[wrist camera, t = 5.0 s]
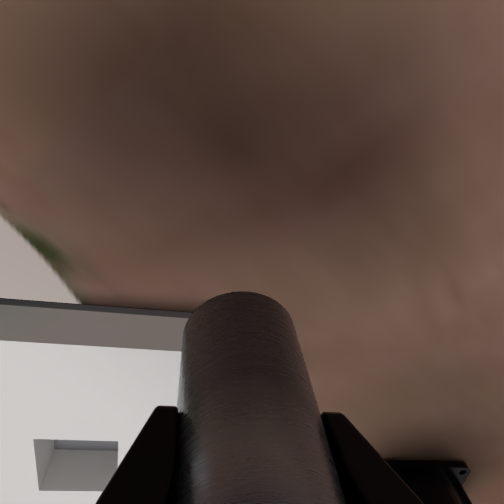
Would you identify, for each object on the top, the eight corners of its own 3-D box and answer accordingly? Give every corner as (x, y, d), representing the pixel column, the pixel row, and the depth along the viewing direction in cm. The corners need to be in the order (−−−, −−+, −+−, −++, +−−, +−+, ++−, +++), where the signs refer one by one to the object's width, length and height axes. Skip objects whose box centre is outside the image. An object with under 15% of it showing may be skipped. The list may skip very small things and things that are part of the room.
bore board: (268, 318, 22) (276, 357, 19) (227, 504, 29) (229, 552, 26) (-114, 289, 19) (-167, 330, 16) (-56, 503, 26) (-85, 556, 24)
